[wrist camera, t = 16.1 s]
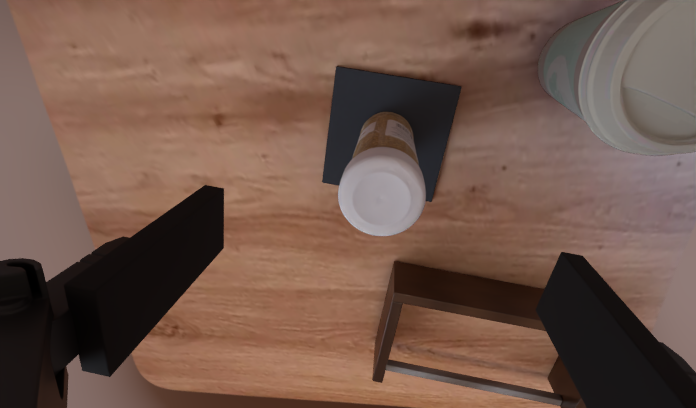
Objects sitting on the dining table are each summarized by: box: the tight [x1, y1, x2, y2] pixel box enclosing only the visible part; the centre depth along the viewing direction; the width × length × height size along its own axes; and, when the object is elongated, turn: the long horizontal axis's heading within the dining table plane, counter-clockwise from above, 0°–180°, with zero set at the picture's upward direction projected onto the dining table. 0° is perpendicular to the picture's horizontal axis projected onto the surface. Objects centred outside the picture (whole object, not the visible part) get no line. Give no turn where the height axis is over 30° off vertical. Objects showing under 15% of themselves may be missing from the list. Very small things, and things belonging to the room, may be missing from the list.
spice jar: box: [338, 112, 426, 236], centre depth 24 cm, size 5×5×14 cm
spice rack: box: [372, 261, 586, 408], centre depth 35 cm, size 20×11×5 cm, turn 82°
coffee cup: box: [538, 0, 696, 156], centre depth 21 cm, size 9×8×12 cm
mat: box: [322, 66, 461, 202], centre depth 31 cm, size 10×10×1 cm
